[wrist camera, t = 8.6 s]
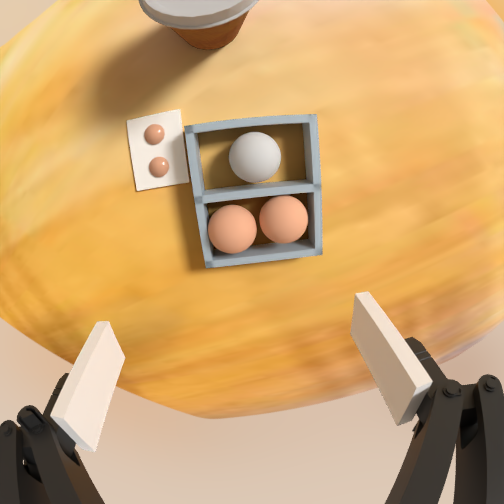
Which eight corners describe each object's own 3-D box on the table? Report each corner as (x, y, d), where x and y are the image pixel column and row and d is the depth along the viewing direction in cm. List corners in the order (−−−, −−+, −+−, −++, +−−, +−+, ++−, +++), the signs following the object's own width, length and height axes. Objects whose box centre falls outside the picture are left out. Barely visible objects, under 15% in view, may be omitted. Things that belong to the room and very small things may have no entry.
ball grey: (231, 180, 30) (231, 189, 25) (226, 134, 28) (225, 134, 23) (278, 176, 30) (287, 184, 25) (274, 130, 28) (282, 129, 23)
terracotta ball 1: (215, 246, 33) (207, 262, 28) (209, 203, 31) (200, 212, 26) (258, 242, 32) (258, 259, 28) (255, 199, 31) (254, 207, 26)
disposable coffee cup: (223, 77, 25) (217, 43, 14) (149, 42, 23) (107, 2, 12) (272, 15, 22) (293, -39, 11) (199, -18, 20) (186, -76, 9)
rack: (208, 256, 33) (206, 268, 30) (189, 127, 27) (184, 126, 24) (315, 244, 33) (322, 254, 31) (308, 115, 27) (316, 114, 25)
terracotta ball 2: (252, 241, 31) (275, 252, 27) (249, 195, 30) (273, 198, 25) (291, 234, 33) (317, 244, 29) (290, 191, 32) (317, 195, 27)
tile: (138, 190, 29) (136, 191, 29) (127, 120, 26) (125, 120, 26) (189, 181, 29) (188, 182, 29) (180, 109, 26) (179, 108, 26)
